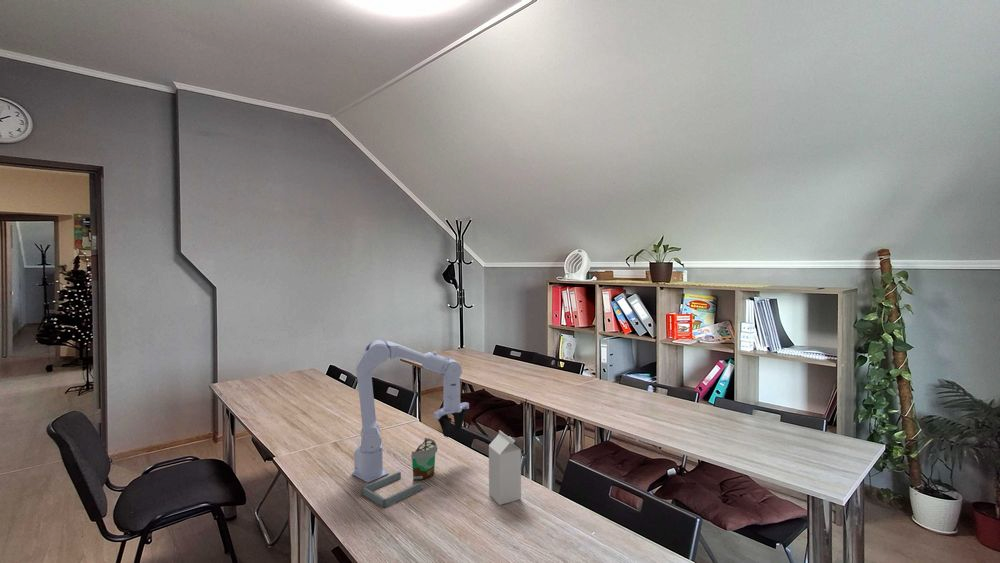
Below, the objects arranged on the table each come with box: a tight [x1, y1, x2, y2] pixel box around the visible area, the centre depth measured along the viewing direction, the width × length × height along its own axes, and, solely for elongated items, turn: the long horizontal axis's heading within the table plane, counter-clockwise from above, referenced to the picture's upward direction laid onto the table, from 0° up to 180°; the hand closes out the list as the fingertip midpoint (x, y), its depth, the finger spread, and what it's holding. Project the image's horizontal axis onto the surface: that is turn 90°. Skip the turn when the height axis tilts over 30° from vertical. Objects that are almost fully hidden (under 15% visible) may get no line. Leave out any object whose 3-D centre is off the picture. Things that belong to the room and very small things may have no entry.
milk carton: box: [488, 430, 522, 506], centre depth 135 cm, size 7×7×19 cm
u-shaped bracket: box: [361, 470, 423, 508], centre depth 139 cm, size 12×14×2 cm
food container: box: [410, 437, 438, 482], centre depth 149 cm, size 12×6×10 cm, turn 168°
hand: (452, 433), depth 157 cm, fingers open, 5 cm apart
